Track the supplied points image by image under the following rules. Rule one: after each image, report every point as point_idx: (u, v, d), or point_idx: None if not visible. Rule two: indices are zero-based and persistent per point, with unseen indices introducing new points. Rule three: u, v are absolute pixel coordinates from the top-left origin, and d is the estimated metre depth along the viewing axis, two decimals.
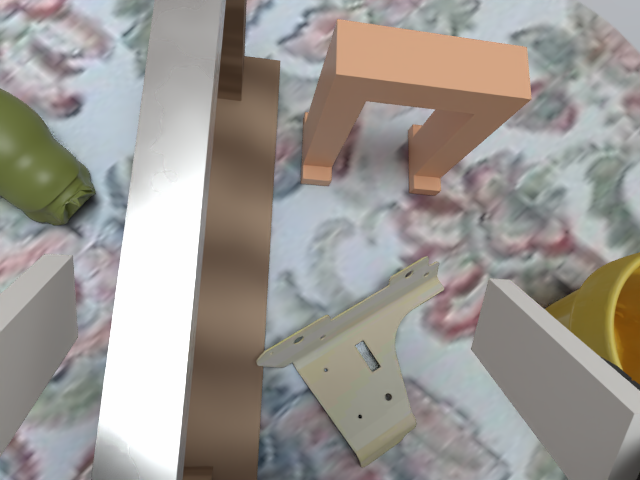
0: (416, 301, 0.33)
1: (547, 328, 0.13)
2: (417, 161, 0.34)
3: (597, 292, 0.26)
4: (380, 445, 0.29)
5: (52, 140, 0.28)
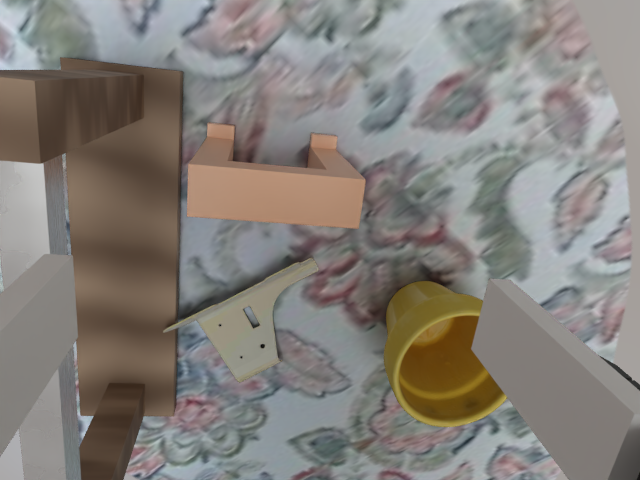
0: (294, 278, 0.42)
1: (547, 328, 0.13)
2: None
3: (403, 332, 0.36)
4: (253, 374, 0.43)
5: None
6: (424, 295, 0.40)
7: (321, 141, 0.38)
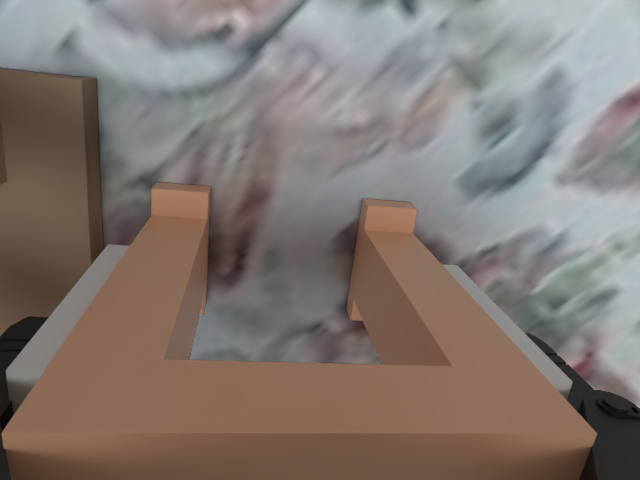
0: None
1: None
2: (359, 289, 0.19)
3: None
4: None
5: None
6: None
7: (386, 219, 0.19)
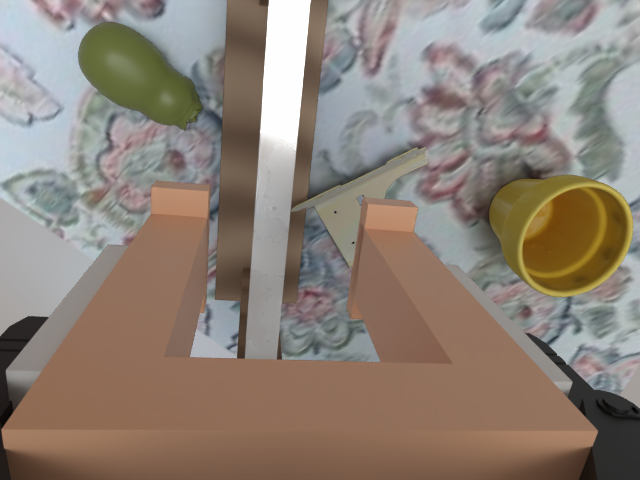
0: (405, 170, 0.46)
1: None
2: (360, 288, 0.19)
3: (527, 205, 0.40)
4: None
5: (170, 70, 0.38)
6: (535, 182, 0.43)
7: (386, 218, 0.19)
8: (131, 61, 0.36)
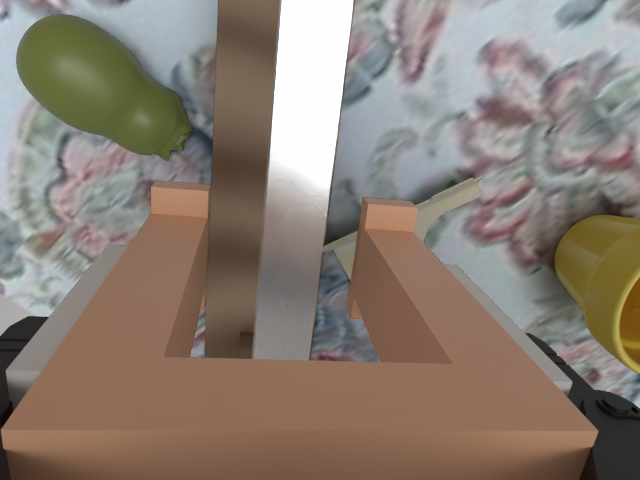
0: (452, 204, 0.35)
1: None
2: (360, 288, 0.19)
3: (627, 260, 0.29)
4: None
5: (147, 81, 0.28)
6: (626, 223, 0.33)
7: (386, 218, 0.19)
8: (90, 69, 0.25)
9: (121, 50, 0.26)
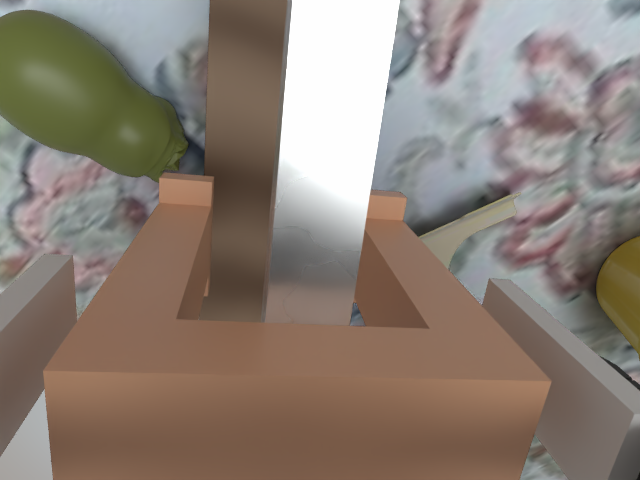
0: (483, 223, 0.31)
1: (547, 328, 0.13)
2: None
3: None
4: None
5: (133, 90, 0.23)
6: None
7: (377, 207, 0.20)
8: (61, 76, 0.21)
9: (101, 53, 0.22)
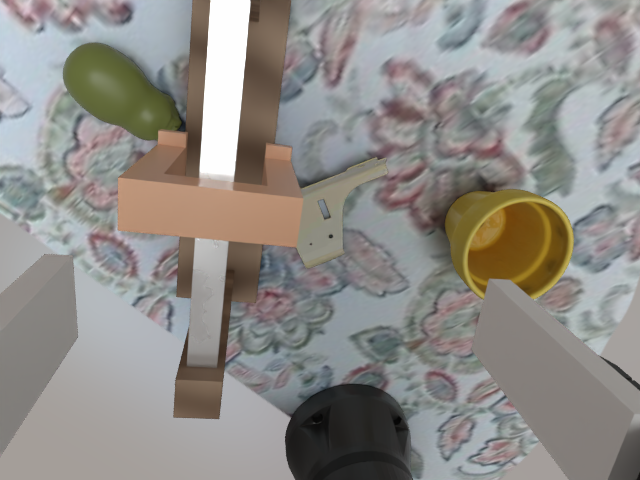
0: (366, 178, 0.48)
1: (547, 328, 0.13)
2: None
3: (473, 217, 0.42)
4: (319, 261, 0.49)
5: (150, 89, 0.40)
6: (486, 195, 0.45)
7: (276, 152, 0.37)
8: (112, 80, 0.38)
9: (134, 68, 0.39)
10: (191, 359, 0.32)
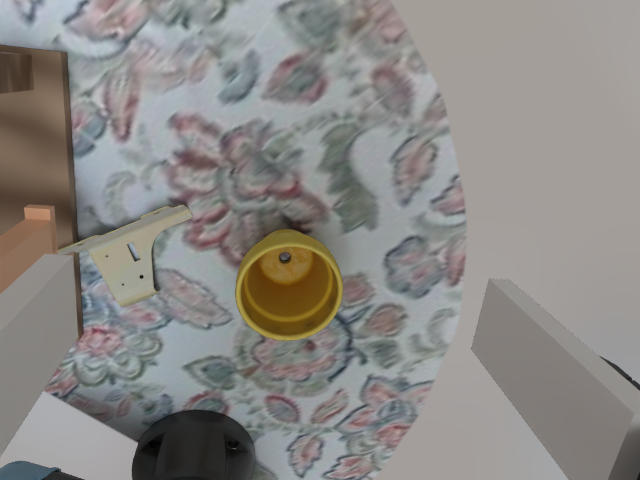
0: (171, 222, 0.51)
1: (547, 328, 0.13)
2: None
3: (244, 261, 0.45)
4: (133, 300, 0.52)
5: None
6: None
7: (35, 214, 0.40)
8: None
9: None
10: None
